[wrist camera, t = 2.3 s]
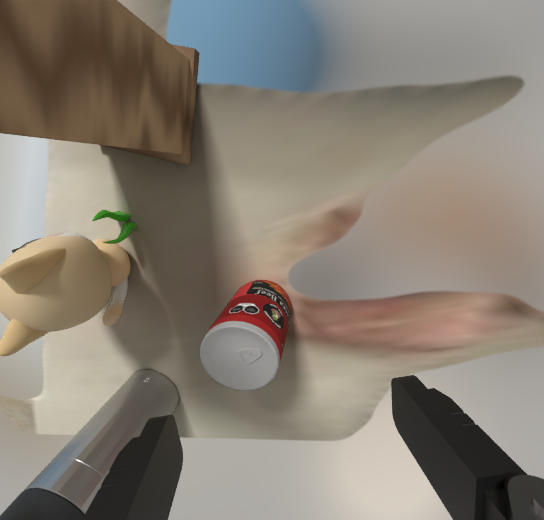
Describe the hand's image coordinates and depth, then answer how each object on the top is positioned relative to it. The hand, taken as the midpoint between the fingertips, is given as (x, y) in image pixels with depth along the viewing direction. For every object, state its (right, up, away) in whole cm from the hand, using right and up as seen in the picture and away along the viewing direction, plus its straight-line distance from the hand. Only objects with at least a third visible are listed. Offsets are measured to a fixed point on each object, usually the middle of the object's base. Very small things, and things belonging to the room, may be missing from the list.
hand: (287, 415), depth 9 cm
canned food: (-2, 0, +26) cm, 26 cm away
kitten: (-23, +6, +28) cm, 36 cm away
